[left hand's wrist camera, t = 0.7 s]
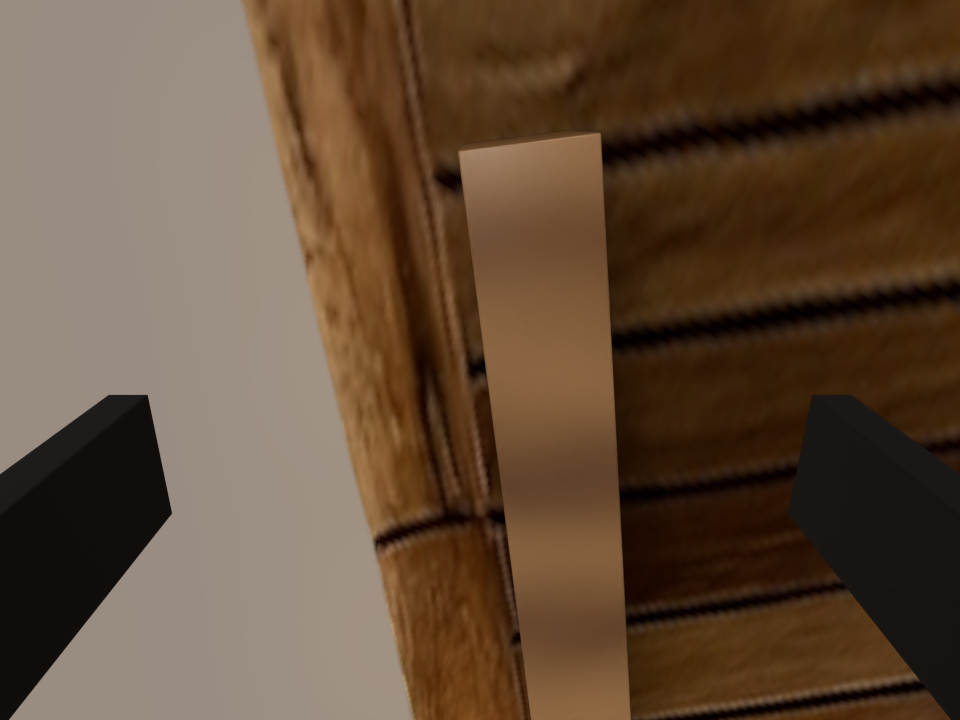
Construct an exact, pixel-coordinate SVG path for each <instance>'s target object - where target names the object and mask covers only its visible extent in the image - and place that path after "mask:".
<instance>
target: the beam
mask: <svg viewBox="0 0 960 720" xmlns="http://www.w3.org/2000/svg"><path fill="white" fill-rule="evenodd" d="M458 155H459V163H460V171H461V179H462V186H463V194H464V202H465V210H466V217H467V225H468V233H469V241H470V248H471V256H472V264H473V272H474V280H475V287H476V295H477V303H478V311H479V318H480V326H481V334H482V342H483V349H484V357H485V365H486V373H487V380H488V388H489V396H490V404H491V412H492V419H493V427H494V435H495V443H496V450H497V458H498V466H499V474H500V481H501V489H502V497H503V505H504V512H505V520H506V528H507V536H508V543H509V551H510V559H511V567H512V575H513V582H514V590H515V598H516V606H517V613H518V621H519V629H520V637H521V644H522V652H523V660H524V668H525V675H526V683H527V691H528V699H529V707H530V714H531V720H631V712H630V692H629V673H628V653H627V634H626V614H625V595H624V576H623V556H622V537H621V517H620V498H619V478H618V459H617V439H616V420H615V400H614V381H613V361H612V342H611V322H610V303H609V283H608V264H607V244H606V225H605V205H604V186H603V166H602V147H601V134H600V133H595V132H581V131H559V132H551V133H544V134H536V135H528V136H521V137H513V138H505V139H498V140H490V141H482V142H475V143H467V144H464V145H463V146H462V148H461V149H460V150H459V152H458Z"/></svg>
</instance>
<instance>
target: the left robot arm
mask: <svg viewBox="0 0 960 720" xmlns="http://www.w3.org/2000/svg"><path fill="white" fill-rule="evenodd" d="M171 514H172V511H171V506H170V501H169V496H168V492H167V487H166V482H165V477H164V472H163V467H162V463H161V458H160V453H159V448H158V443H157V438H156V433H155V429H154V424H153V419H152V414H151V409H150V404H149V399H148V395H108V396H107V397H105V398H104V399H103V400H101V401H100V402H98V403H97V404H96V405H94V406H93V407H92V408H90V409H89V410H88V411H86V412H85V413H83V414H82V415H81V416H79V417H78V418H77V419H75V420H74V421H72V422H71V423H70V424H68V425H67V426H66V427H64V428H63V429H62V430H60V431H59V432H57V433H56V434H55V435H53V436H52V437H51V438H49V439H48V440H47V441H45V442H44V443H42V444H41V445H40V446H38V447H37V448H35V449H34V450H33V451H31V452H30V453H29V454H27V455H26V456H25V457H23V458H22V459H20V460H19V461H18V462H16V463H15V464H14V465H12V466H11V467H9V468H8V469H7V470H5V471H4V472H3V473H1V474H0V720H9V719H10V718H11V716H12V715H13V714H14V713H15V711H16V710H17V709H18V708H19V706H20V705H21V704H22V703H23V701H24V700H25V699H26V697H27V696H28V695H29V694H30V692H31V691H32V690H33V689H34V687H35V686H36V685H37V683H38V682H39V681H40V680H41V678H42V677H43V676H44V675H45V673H46V672H47V671H48V670H49V668H50V667H51V666H52V665H53V663H54V662H55V661H56V659H57V658H58V657H59V656H60V654H61V653H62V652H63V651H64V649H65V648H66V647H67V646H68V644H69V643H70V642H71V641H72V639H73V638H74V637H75V635H76V634H77V633H78V632H79V630H80V629H81V628H82V627H83V625H84V624H85V623H86V621H87V620H88V619H89V618H90V617H91V615H92V614H93V613H94V611H95V610H96V609H97V608H98V606H99V605H100V604H101V603H102V601H103V600H104V599H105V598H106V596H107V595H108V594H109V592H110V591H111V590H112V589H113V587H114V586H115V585H116V584H117V582H118V581H119V580H120V579H121V577H122V576H123V575H124V574H125V572H126V571H127V570H128V568H129V567H130V566H131V565H132V563H133V562H134V561H135V560H136V558H137V557H138V556H139V554H140V553H141V552H142V551H143V549H144V548H145V547H146V546H147V544H148V543H149V542H150V541H151V539H152V538H153V537H154V536H155V534H156V533H157V532H158V531H159V529H160V528H161V527H162V525H163V524H164V523H165V522H166V520H167V519H168V518H169V517H170V515H171ZM788 514H789V515H790V517H791V518H792V519H793V520H794V522H795V523H796V524H797V525H798V527H799V528H800V529H801V531H802V532H803V533H804V534H805V536H806V537H807V538H808V539H809V541H810V542H811V543H812V544H813V546H814V547H815V548H816V549H817V551H818V552H819V553H820V555H821V556H822V557H823V558H824V560H825V561H826V562H827V563H828V565H829V566H830V567H831V568H832V570H833V571H834V572H835V574H836V575H837V576H838V577H839V579H840V580H841V581H842V582H843V584H844V585H845V586H846V587H847V589H848V590H849V591H850V592H851V594H852V595H853V596H854V598H855V599H856V600H857V601H858V603H859V604H860V605H861V606H862V608H863V609H864V610H865V611H866V613H867V614H868V615H869V617H870V618H871V619H872V620H873V622H874V623H875V624H876V625H877V627H878V628H879V629H880V630H881V632H882V633H883V634H884V635H885V637H886V638H887V639H888V641H889V642H890V643H891V644H892V646H893V647H894V648H895V649H896V651H897V652H898V653H899V654H900V656H901V657H902V658H903V660H904V661H905V662H906V663H907V665H908V666H909V667H910V668H911V670H912V671H913V672H914V673H915V675H916V676H917V677H918V678H919V680H920V681H921V682H922V684H923V685H924V686H925V687H926V689H927V690H928V691H929V692H930V694H931V695H932V696H933V697H934V699H935V700H936V701H937V703H938V704H939V705H940V706H941V708H942V709H943V710H944V711H945V713H946V714H947V715H948V716H949V718H950V719H951V720H960V474H959V473H957V472H956V471H955V470H953V469H952V468H951V467H949V466H948V465H946V464H945V463H944V462H942V461H941V460H940V459H938V458H937V457H935V456H934V455H933V454H931V453H930V452H929V451H927V450H926V449H925V448H923V447H922V446H920V445H919V444H918V443H916V442H915V441H914V440H912V439H911V438H909V437H908V436H907V435H905V434H904V433H903V432H901V431H900V430H898V429H897V428H896V427H894V426H893V425H892V424H890V423H889V422H888V421H886V420H885V419H883V418H882V417H881V416H879V415H878V414H877V413H875V412H874V411H872V410H871V409H870V408H868V407H867V406H866V405H864V404H863V403H862V402H860V401H859V400H857V399H856V398H855V397H853V396H852V395H812V399H811V404H810V409H809V414H808V419H807V424H806V429H805V433H804V438H803V443H802V448H801V453H800V458H799V462H798V467H797V472H796V477H795V482H794V487H793V491H792V496H791V501H790V506H789V511H788Z"/></svg>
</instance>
